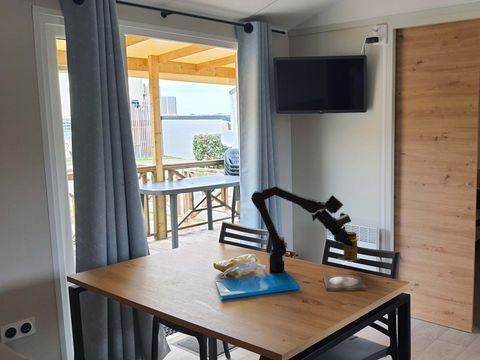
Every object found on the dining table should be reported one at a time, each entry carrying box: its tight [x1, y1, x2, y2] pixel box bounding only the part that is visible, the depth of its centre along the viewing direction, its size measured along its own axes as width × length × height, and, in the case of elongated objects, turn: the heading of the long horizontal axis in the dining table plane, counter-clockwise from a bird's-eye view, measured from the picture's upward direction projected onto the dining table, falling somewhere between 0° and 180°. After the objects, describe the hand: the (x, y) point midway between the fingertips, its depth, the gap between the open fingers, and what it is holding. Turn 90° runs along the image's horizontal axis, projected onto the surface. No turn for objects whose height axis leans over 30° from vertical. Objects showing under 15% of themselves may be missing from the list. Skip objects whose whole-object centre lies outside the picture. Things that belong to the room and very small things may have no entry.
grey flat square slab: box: [322, 274, 367, 292], centre depth 202 cm, size 16×16×1 cm
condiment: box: [336, 231, 361, 263], centre depth 218 cm, size 7×8×12 cm
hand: (352, 244), depth 218 cm, fingers closed on condiment, 6 cm apart
